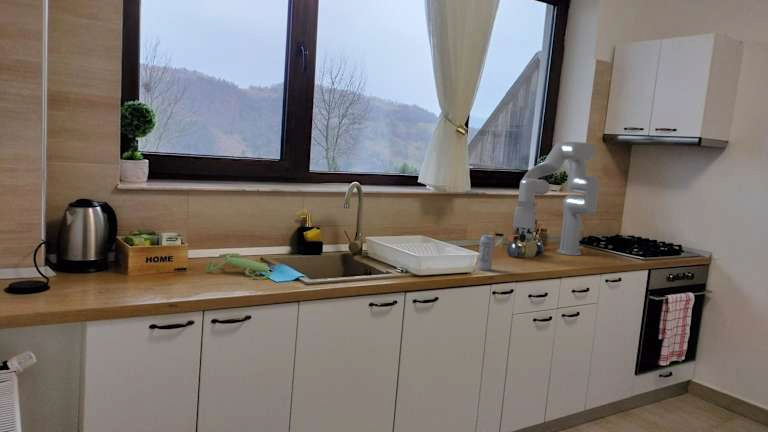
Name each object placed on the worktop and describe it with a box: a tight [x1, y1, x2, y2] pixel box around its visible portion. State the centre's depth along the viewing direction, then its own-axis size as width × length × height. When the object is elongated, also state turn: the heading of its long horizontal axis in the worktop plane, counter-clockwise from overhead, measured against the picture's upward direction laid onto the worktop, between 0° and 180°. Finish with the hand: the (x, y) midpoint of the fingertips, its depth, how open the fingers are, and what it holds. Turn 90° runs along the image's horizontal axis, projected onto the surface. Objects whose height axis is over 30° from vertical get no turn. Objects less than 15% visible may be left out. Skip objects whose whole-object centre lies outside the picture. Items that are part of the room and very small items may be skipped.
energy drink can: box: [477, 234, 495, 272], centre depth 262 cm, size 6×6×15 cm
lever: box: [507, 233, 533, 242], centre depth 296 cm, size 4×18×2 cm, turn 136°
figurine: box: [205, 252, 275, 281], centre depth 226 cm, size 18×27×6 cm
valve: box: [506, 239, 545, 259], centre depth 302 cm, size 20×7×9 cm, turn 125°
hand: (522, 242), depth 291 cm, fingers closed
